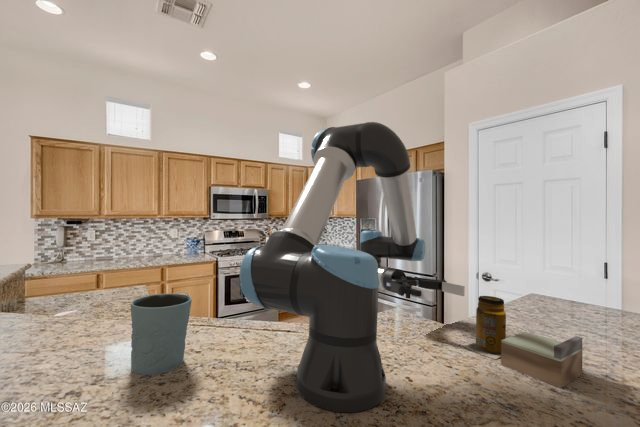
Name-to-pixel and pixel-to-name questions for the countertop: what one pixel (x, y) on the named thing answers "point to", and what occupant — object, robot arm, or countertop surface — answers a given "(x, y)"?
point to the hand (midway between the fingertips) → (449, 293)
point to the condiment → (489, 327)
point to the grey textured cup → (159, 332)
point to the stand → (543, 357)
